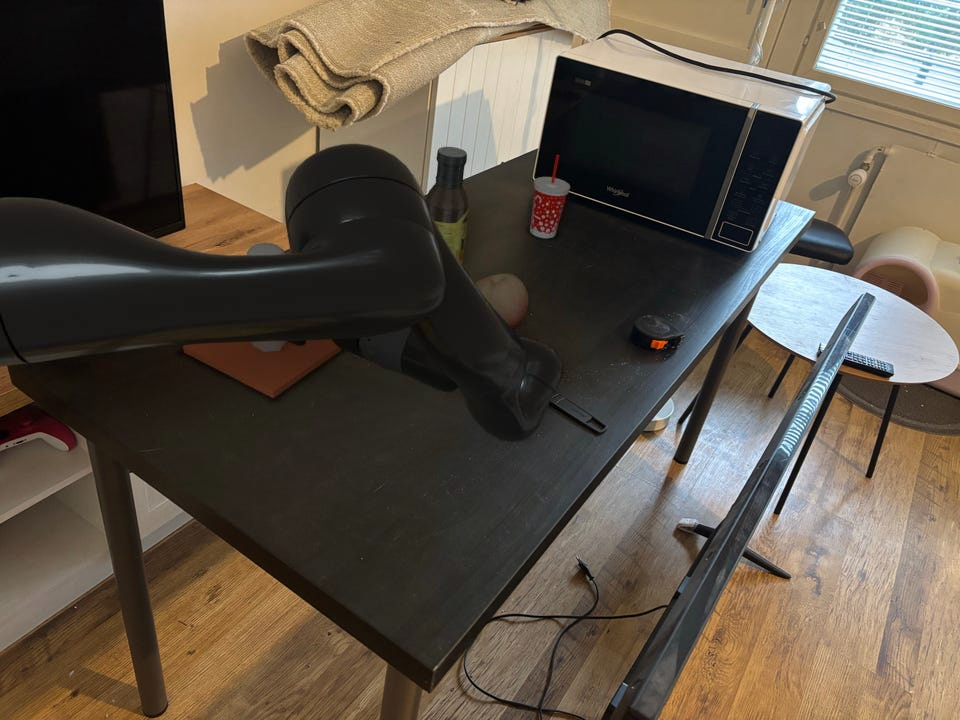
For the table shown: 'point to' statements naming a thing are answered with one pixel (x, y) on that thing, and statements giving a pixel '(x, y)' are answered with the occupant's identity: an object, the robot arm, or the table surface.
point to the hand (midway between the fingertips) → (269, 279)
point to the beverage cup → (548, 204)
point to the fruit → (505, 296)
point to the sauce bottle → (450, 199)
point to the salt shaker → (267, 250)
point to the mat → (264, 362)
